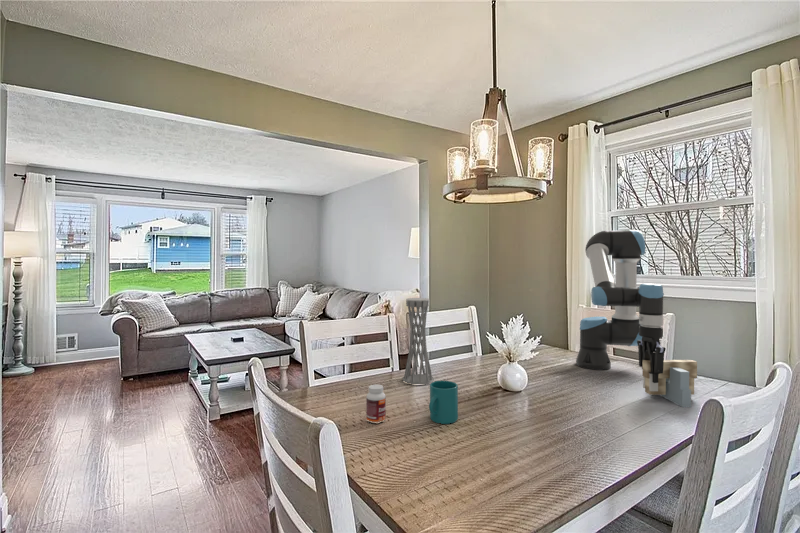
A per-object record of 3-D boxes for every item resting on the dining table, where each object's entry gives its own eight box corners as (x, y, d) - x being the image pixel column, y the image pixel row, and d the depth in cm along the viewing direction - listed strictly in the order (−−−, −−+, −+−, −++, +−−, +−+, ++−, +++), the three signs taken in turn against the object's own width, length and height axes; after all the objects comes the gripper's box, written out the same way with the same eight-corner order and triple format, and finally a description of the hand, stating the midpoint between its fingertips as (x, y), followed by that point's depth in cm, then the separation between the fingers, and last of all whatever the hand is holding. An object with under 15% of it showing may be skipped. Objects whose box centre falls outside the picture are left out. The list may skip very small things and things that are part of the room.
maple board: (647, 394, 146) (647, 362, 146) (642, 392, 149) (642, 359, 149) (696, 394, 146) (697, 361, 146) (691, 391, 149) (691, 359, 149)
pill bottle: (381, 425, 125) (381, 390, 125) (363, 423, 127) (363, 388, 127) (388, 418, 131) (388, 384, 131) (370, 415, 133) (370, 382, 133)
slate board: (650, 390, 157) (650, 359, 157) (658, 390, 157) (658, 359, 157) (682, 407, 139) (682, 372, 139) (691, 407, 139) (691, 372, 139)
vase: (439, 379, 173) (439, 298, 172) (424, 387, 162) (424, 301, 161) (412, 374, 180) (412, 296, 180) (396, 382, 169) (395, 299, 168)
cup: (418, 422, 127) (418, 387, 127) (440, 411, 136) (440, 378, 136) (442, 430, 121) (442, 393, 121) (463, 418, 131) (463, 384, 130)
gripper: (628, 322, 156) (628, 382, 156) (654, 329, 140) (653, 396, 140) (647, 322, 156) (647, 382, 156) (675, 329, 139) (675, 396, 140)
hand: (650, 389), depth 148 cm, fingers closed on maple board, 3 cm apart
